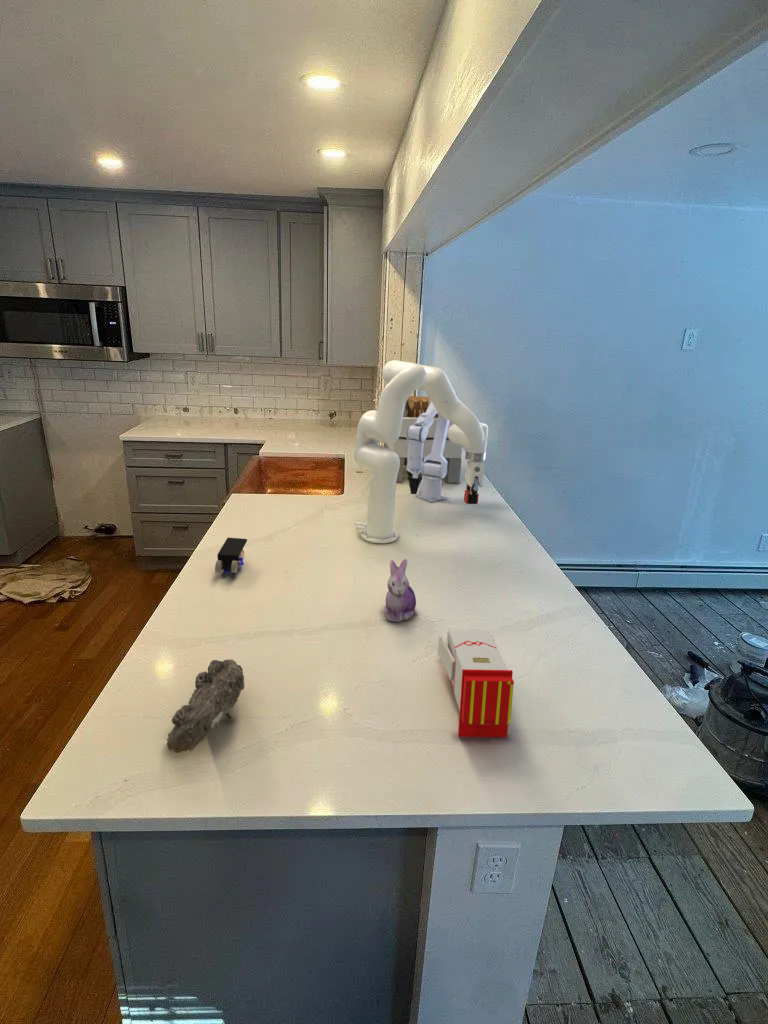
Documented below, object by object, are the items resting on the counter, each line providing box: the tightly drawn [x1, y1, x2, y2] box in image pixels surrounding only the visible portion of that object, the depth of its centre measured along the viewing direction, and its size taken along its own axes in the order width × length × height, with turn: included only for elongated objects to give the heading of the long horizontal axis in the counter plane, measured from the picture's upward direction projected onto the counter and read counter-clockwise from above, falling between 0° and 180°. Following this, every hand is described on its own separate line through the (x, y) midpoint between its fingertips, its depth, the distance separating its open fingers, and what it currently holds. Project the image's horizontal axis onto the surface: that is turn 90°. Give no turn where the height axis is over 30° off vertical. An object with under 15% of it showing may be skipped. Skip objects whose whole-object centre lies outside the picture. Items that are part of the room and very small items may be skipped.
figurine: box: [384, 558, 417, 623], centre depth 145 cm, size 9×10×15 cm
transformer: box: [383, 394, 463, 484], centre depth 268 cm, size 34×33×41 cm
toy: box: [437, 628, 515, 738], centre depth 117 cm, size 12×13×30 cm
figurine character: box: [214, 537, 248, 578], centre depth 166 cm, size 7×8×15 cm
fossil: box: [166, 658, 245, 754], centre depth 106 cm, size 22×10×15 cm
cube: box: [463, 489, 480, 505], centre depth 220 cm, size 4×5×4 cm
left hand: (470, 501), depth 220 cm, fingers closed on cube, 4 cm apart
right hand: (413, 490), depth 221 cm, fingers open, 7 cm apart
